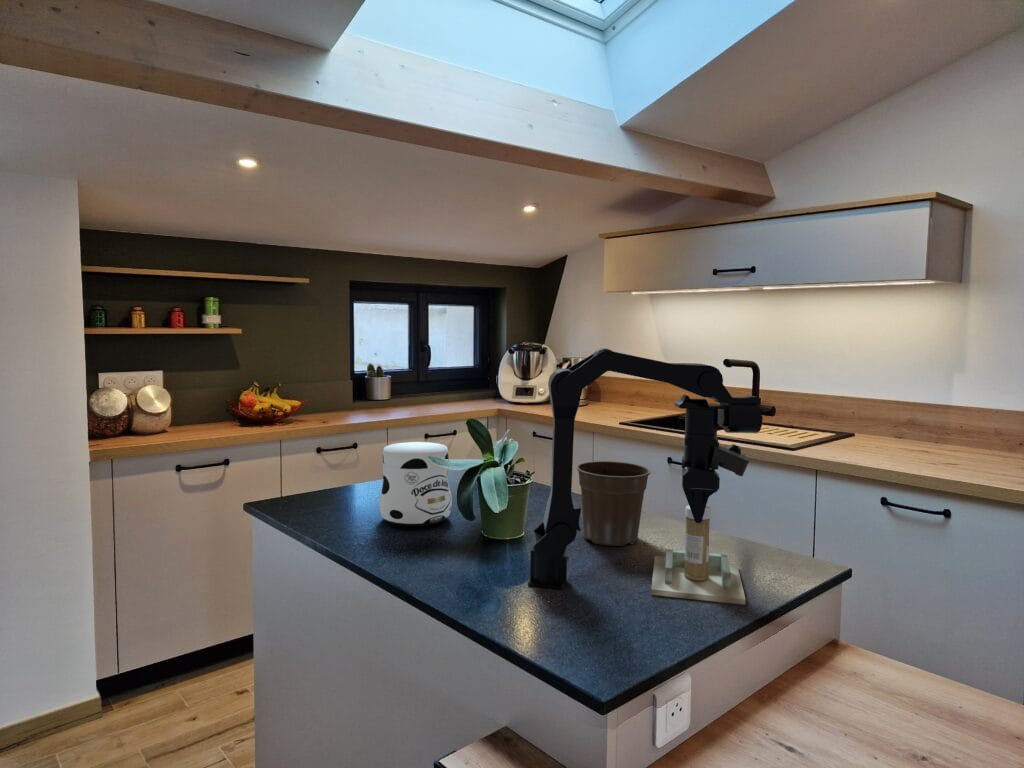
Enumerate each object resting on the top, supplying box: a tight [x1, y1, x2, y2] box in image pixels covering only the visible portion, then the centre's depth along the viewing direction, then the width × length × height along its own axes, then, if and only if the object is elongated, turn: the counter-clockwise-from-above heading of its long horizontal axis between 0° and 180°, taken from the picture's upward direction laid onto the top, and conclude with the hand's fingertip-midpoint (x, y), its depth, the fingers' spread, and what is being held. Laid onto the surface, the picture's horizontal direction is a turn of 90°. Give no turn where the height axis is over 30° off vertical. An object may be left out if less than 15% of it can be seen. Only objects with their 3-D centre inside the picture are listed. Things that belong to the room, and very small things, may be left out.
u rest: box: [650, 548, 746, 606], centre depth 128 cm, size 16×18×4 cm
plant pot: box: [576, 460, 651, 547], centre depth 152 cm, size 16×16×16 cm
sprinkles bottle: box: [684, 504, 712, 581], centre depth 127 cm, size 5×5×13 cm
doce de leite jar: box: [378, 441, 453, 528], centre depth 163 cm, size 17×17×18 cm
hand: (697, 515), depth 126 cm, fingers open, 9 cm apart
